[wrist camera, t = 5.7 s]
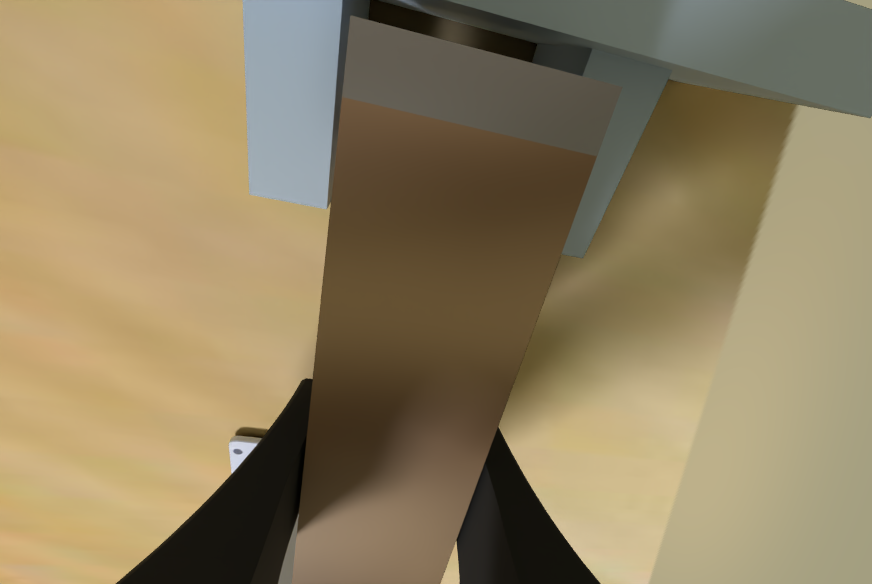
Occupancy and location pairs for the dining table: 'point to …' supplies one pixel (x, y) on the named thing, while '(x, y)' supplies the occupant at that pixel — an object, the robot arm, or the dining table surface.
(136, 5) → the dining table surface
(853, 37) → the pale blue bench
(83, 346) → the dining table surface
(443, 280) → the brown wooden block
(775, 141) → the dining table surface
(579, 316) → the dining table surface
